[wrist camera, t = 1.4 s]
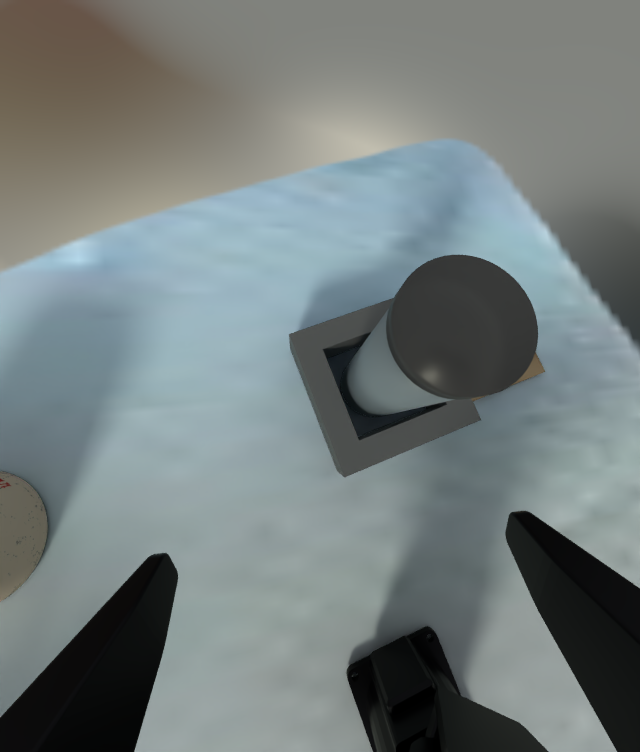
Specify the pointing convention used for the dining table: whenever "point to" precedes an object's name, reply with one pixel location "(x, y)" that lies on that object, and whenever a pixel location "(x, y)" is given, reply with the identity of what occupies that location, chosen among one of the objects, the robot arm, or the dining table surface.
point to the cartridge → (444, 339)
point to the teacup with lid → (19, 532)
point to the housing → (332, 412)
